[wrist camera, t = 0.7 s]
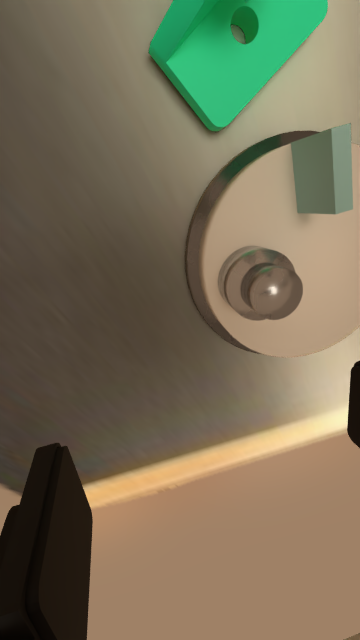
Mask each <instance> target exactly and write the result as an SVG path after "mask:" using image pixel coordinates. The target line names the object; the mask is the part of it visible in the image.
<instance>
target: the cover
mask: <svg viewBox="0 0 360 640" xmlns="http://www.w3.org/2000/svg"><path fill="white" fill-rule="evenodd" d="M218 289H219V293H220V295H221V297H222V299H223V300H224V301H225V302H226V303H227V304H228V305H229V306H230V307H231V308H232V309H234V310H235V311H236V312H237V313H238V314H239V315H241V316H242V317H244V318H246V319H249V320H255V321H260V320H266V319H269V320H279V319H282V318H285V317H287V316H288V315H290V314H291V313H292V312H293V311H294V310H295V309H296V308H297V307H298V305H299V303H300V301H301V298H302V295H303V285H302V281H301V279H300V277H299V276H298V275H297V274H296V273H295V269H294V266H293V264H292V263H291V261H290V260H289V259H288V258H287V257H286V256H285V255H284V254H282V253H280V252H278V251H274V250H271V249H267V248H264V247H260V246H245V247H242V248H240V249H238V250H236V251H234V252H233V253H232V254H230V255H229V256H228V257H227V259H226V260H225V261H224V263H223V264H222V266H221V269H220V271H219V275H218Z"/></svg>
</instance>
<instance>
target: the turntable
mask: <svg viewBox="0 0 360 640" xmlns="http://www.w3.org/2000/svg"><path fill="white" fill-rule="evenodd" d="M245 246H260V247H264V248H267V249H271V250H274V251H278V252H280V253H282V254H284V255H285V256H286V257H287V258H288V259H289V260H290V261H291V263H292V264H293V266H294V269H295V273H296V274H297V275H298V276H299V277H300V279H301V281H302V285H303V295H302V298H301V301H300V303H299V305H298V307H297V308H296V309H295V310H294V311H293V312H292V313H291V314H290V315H288V316H287V317H285V318H282V319H279V320H269V319H266V320H260V321H255V320H249V319H246V318H244V317H242V316H241V315H239V314H238V313H237V312H236V311H235V310H234V309H232V308H231V307H230V306H229V305H228V304H227V303H226V302H225V301H224V300H223V299H222V297H221V295H220V293H219V289H218V275H219V271H220V269H221V266H222V264H223V263H224V261H225V260H226V259H227V257H228V256H229V255H230V254H232V253H233V252H234V251H236V250H238V249H240V248H242V247H245ZM198 262H199V277H200V283H201V287H202V291H203V294H204V297H205V299H206V302H207V304H208V306H209V308H210V310H211V311H212V313H213V314H214V316H215V317H216V319H217V320H218V321H219V322H220V323H221V324H222V326H223V327H224V328H225V329H226V330H227V331H228V332H229V333H230V334H231V335H232V336H233V337H234V338H235V339H236V340H237V341H239V342H240V343H241V344H243V345H244V346H246V347H248V348H249V349H251V350H254V351H256V352H259V353H261V354H265V355H269V356H275V357H298V356H304V355H309V354H312V353H316V352H319V351H321V350H324V349H326V348H328V347H330V346H332V345H334V344H336V343H338V342H340V341H341V340H342V339H344V338H345V337H347V336H348V335H350V334H351V333H352V332H353V331H355V330H356V329H357V328H358V327H359V326H360V146H358V145H356V144H354V143H351V123H349V124H345V125H342V126H338V127H334V128H331V129H328V130H325V131H322V132H320V133H317V134H314V135H311V136H308V137H306V138H303V139H300V140H297V141H294V142H292V143H291V144H288V145H285V146H282V147H279V148H276V149H274V150H271V151H269V152H267V153H265V154H263V155H261V156H259V157H257V158H256V159H254V160H253V161H251V162H250V163H249V164H247V165H246V166H244V167H243V168H242V169H241V170H240V171H239V172H238V173H237V174H236V175H235V176H234V177H233V178H232V179H231V180H230V181H229V183H228V184H227V185H226V186H225V187H224V189H223V190H222V191H221V193H220V195H219V196H218V198H217V199H216V201H215V202H214V204H213V206H212V208H211V211H210V213H209V215H208V217H207V220H206V223H205V226H204V228H203V232H202V236H201V241H200V247H199V258H198Z"/></svg>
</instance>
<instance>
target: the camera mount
mask: <svg viewBox="0 0 360 640" xmlns="http://www.w3.org/2000/svg"><path fill="white" fill-rule="evenodd" d="M327 8H328V2H327V0H173V2H172V4H171V6H170V8H169V9H168V11H167V13H166V15H165V17H164V19H163V21H162V23H161V24H160V26H159V28H158V30H157V32H156V34H155V36H154V37H153V39H152V41H151V44H150V48H149V54H150V55H151V56H152V58H153V59H154V60H155V62H156V63H157V64H158V65H159V67H160V68H161V69H162V71H163V72H164V73H165V74H166V76H167V77H168V78H169V80H170V81H171V82H172V83H173V85H174V86H175V87H176V89H177V90H178V91H179V92H180V94H181V95H182V96H183V97H184V99H185V100H186V101H187V103H188V104H189V105H190V106H191V108H192V109H193V110H194V112H195V113H196V114H197V115H198V117H199V118H200V119H201V121H202V122H203V123H204V124H205V126H206V127H207V128H208V129H209V130H211V131H219V130H221V129H223V128H224V127H226V126H227V125H228V124H229V123H230V122H231V121H232V120H233V119H234V118H235V117H236V116H237V115H238V114H239V112H240V111H241V110H242V109H243V108H244V107H245V106H246V105H247V104H248V102H249V101H250V100H251V99H252V98H253V97H254V96H255V95H256V94H257V93H258V91H259V90H260V89H261V88H262V87H263V86H264V85H265V84H266V83H267V81H268V80H269V79H270V78H271V77H272V76H273V75H274V74H275V73H276V72H277V70H278V69H279V68H280V67H281V66H282V65H283V64H284V63H285V62H286V60H287V59H288V58H289V57H290V56H291V55H292V54H293V53H294V52H295V51H296V49H297V48H298V47H299V46H300V45H301V44H302V43H303V42H304V41H305V39H306V38H307V37H308V36H309V35H310V34H311V33H312V32H313V31H314V30H315V28H316V27H317V26H318V25H319V24H320V23H321V22H322V21H323V19H324V18H325V16H326V13H327ZM232 24H234V25H237V26H239V27H240V28H241V29H242V30H243V32H244V35H245V39H246V44H241V43H239V42H238V41H237V40H236V39H235V38H234V37H233V34H232V32H231V25H232Z"/></svg>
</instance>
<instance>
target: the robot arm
mask: <svg viewBox="0 0 360 640" xmlns="http://www.w3.org/2000/svg"><path fill="white" fill-rule="evenodd" d="M347 431H348V435H349V437H350V438H351V440H352V441H353V442H354V443H355V444H356V445H357V446H358V447H359V448H360V361H358V362H356V363H355V364H354V367H353V368H352V369H351V378H350V395H349V411H348V428H347ZM91 541H92V512H91V508H90V506H89V503H88V500H87V497H86V495H85V492H84V489H83V487H82V484H81V481H80V479H79V476H78V473H77V471H76V468H75V465H74V463H73V460H72V457H71V455H70V452H69V449H68V447H67V446H63V447H61V445H60V444H59V443H54V444H50V445H47V446H43V447H39V448H37V449H36V452H35V455H34V458H33V462H32V465H31V468H30V472H29V475H28V478H27V482H26V485H25V488H24V492H23V495H22V498H21V502H20V505H16V506H13V507H12V508H11V509H10V510H9V513H8V515H7V517H6V520H5V523H4V526H3V529H2V532H1V535H0V640H87V622H88V601H89V582H90V563H91ZM345 640H360V633H359V634H356V635H354V636H352V637H349V638H347V639H345Z"/></svg>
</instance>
